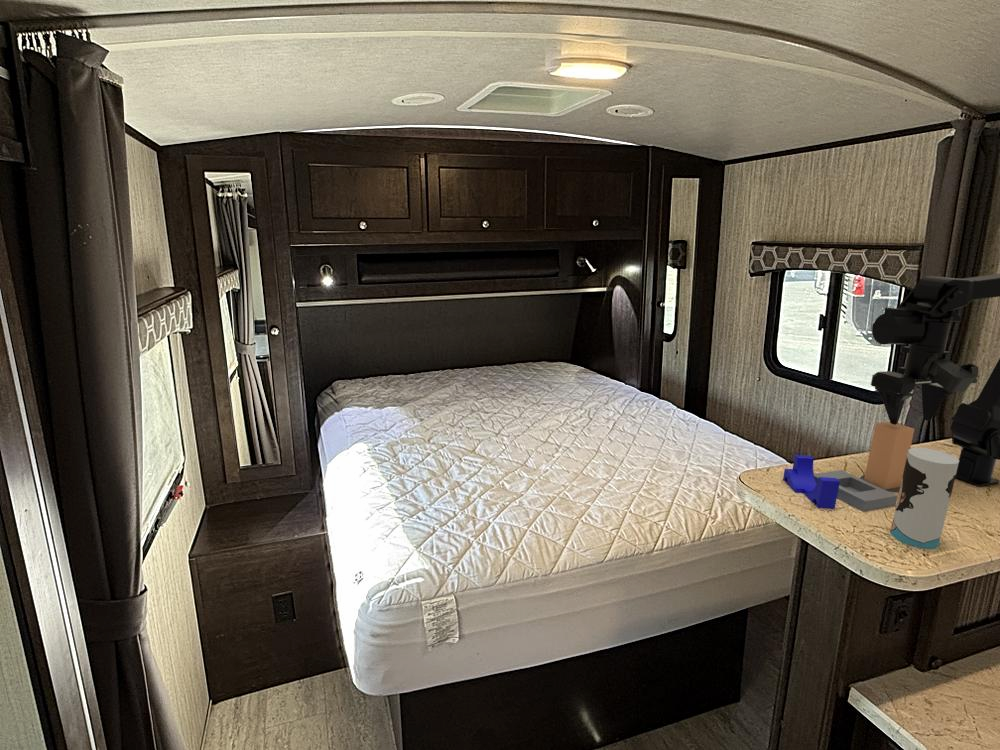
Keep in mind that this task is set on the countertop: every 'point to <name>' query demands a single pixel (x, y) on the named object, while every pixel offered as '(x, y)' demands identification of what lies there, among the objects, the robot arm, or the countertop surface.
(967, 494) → the countertop surface
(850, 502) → the socket block
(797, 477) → the cable clip
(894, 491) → the coaster
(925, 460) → the cup
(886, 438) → the tan rectangular block
